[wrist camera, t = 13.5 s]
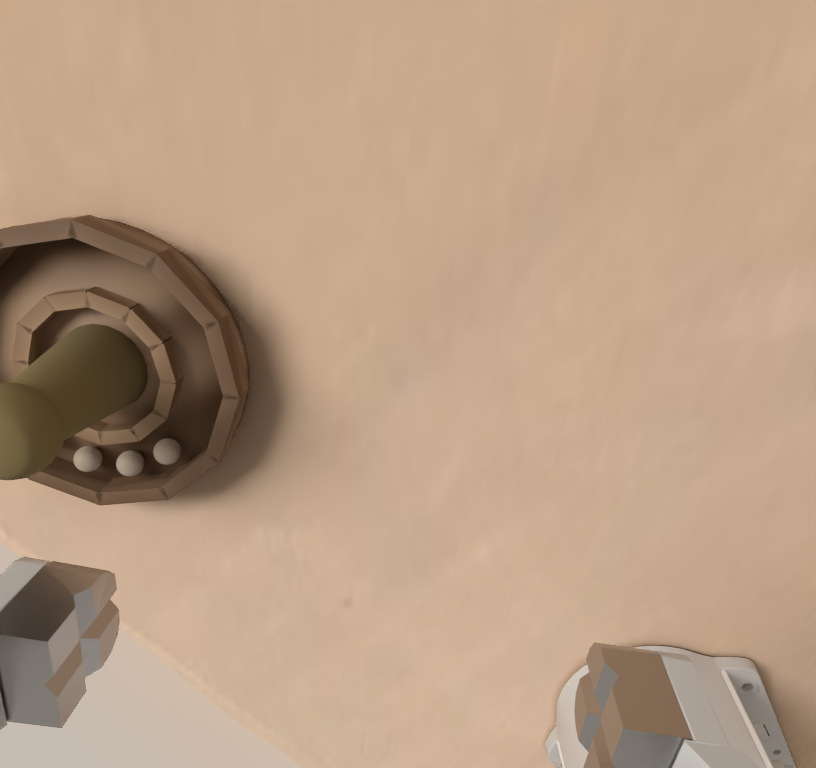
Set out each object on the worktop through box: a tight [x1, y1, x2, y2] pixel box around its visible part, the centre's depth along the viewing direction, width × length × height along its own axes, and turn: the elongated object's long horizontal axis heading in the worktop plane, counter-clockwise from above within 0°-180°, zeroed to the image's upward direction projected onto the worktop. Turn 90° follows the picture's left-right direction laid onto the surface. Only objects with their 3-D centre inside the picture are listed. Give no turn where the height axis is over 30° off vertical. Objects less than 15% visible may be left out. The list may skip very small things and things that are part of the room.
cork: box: [0, 324, 148, 480], centre depth 35 cm, size 6×6×11 cm
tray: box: [0, 215, 249, 505], centre depth 40 cm, size 19×19×3 cm
